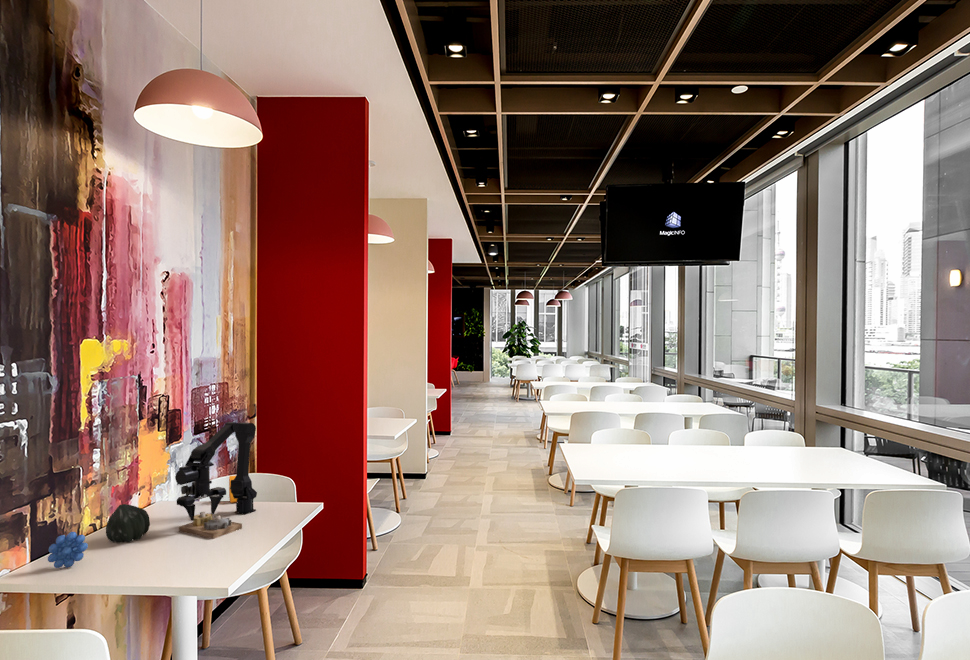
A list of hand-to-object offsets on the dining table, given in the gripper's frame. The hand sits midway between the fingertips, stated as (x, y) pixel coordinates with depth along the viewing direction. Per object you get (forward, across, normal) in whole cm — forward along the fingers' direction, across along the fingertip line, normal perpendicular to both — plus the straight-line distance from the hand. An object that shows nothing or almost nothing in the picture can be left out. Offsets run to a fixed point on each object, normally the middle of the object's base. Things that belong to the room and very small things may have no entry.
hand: (202, 517), depth 233 cm
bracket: (+5, -35, -23) cm, 42 cm away
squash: (+5, +21, -15) cm, 26 cm away
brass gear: (+2, 0, 0) cm, 3 cm away
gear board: (+4, 0, +5) cm, 7 cm away
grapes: (+5, +46, -6) cm, 47 cm away
